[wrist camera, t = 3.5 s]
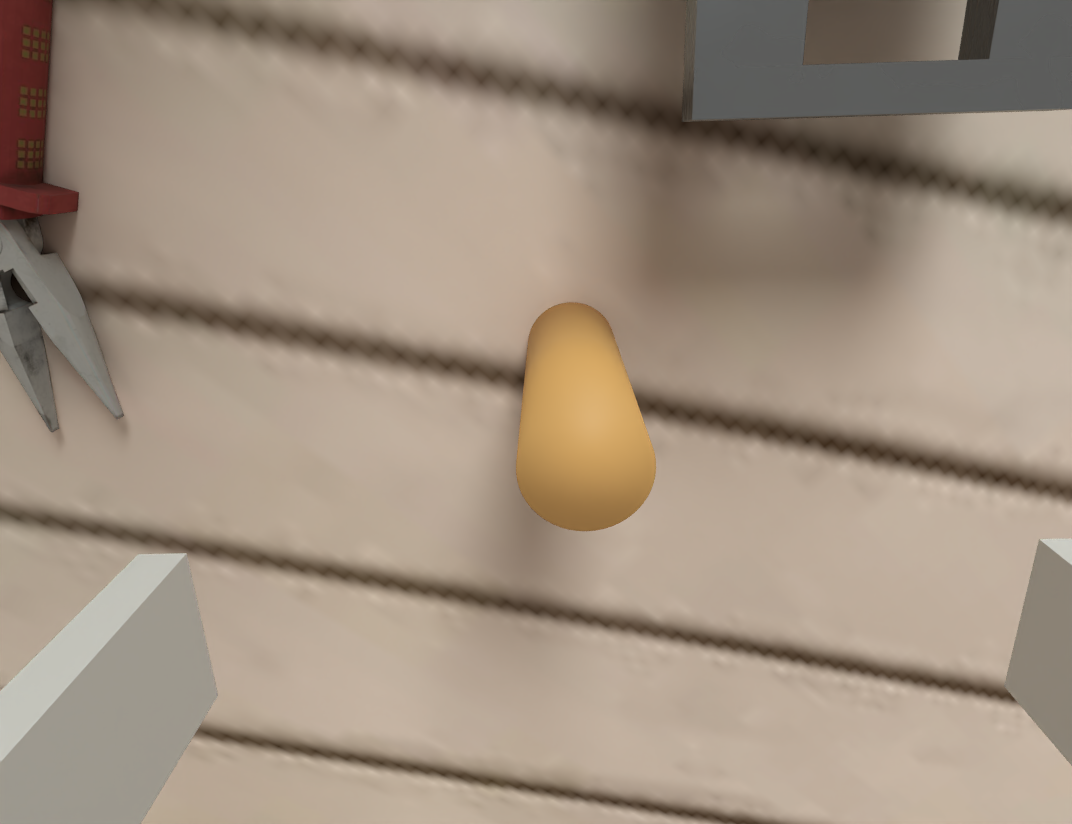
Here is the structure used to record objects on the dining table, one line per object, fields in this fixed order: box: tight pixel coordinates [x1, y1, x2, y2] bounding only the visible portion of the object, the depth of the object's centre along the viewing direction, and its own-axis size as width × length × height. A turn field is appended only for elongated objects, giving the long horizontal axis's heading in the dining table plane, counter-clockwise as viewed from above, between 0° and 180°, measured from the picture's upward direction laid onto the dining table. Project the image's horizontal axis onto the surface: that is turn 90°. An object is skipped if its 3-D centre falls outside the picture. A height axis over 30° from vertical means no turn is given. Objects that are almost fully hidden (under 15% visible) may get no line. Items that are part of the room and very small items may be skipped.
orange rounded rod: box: [516, 302, 656, 531], centre depth 22 cm, size 3×3×11 cm
